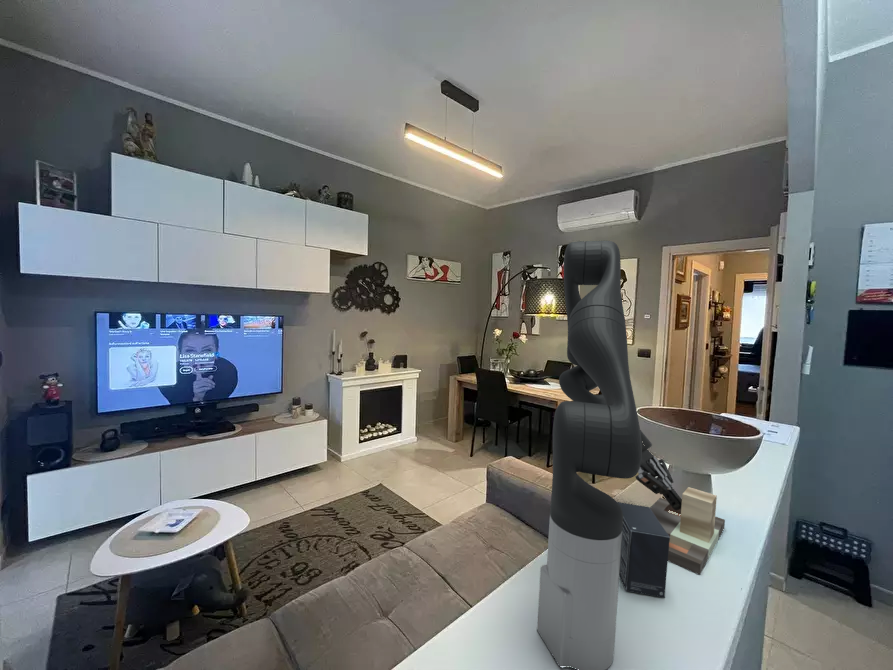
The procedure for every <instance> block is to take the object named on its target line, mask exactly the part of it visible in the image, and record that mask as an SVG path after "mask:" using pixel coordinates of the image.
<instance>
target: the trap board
mask: <svg viewBox="0 0 893 670" xmlns="http://www.w3.org/2000/svg"><path fill="white" fill-rule="evenodd" d="M649 508H650V509H651V511H652V512H653V514H654V515H655V517H656V518H657V520H658V521H659V522H660V524H661V525H662V527H663V528H664V529H665V531H666V532H667V534H668V535H669V536H670V534H671V533H672V531H673V530H674V529H675V528H676V526H677V525H678V524H679V523H680V520H681V515H680V516H679V514H681V509H679V510H677V511H676V510H674V509H673V508H672V506H671V505H670V504H669V502H668V501H667V500H666V498H662V497H659V498H658V499H657V500H656V501H655V502H654V503H653V504H652V505H651V506H650V507H649ZM669 510H670V511H673V512H676V513H678V515H675V514H672V513H669V512H668V511H669ZM725 523H726V519H724V518H721V517H718V516H715V526H714V529H716V530H719V537H721V536H720V535H722V534H723V532H724V530H725V525H726V524H725ZM723 529H724V530H723ZM722 531H723V532H722ZM721 533H722V534H721ZM718 539H719V540H720V538H718ZM708 560H709V558H708V549H706V548H703V547H701V546H698V545H696V544H693V545H692V546H691V548H690V549H689V550H687V549H684V548H682V547H680V546H677V545H675V544H672V543H670V541H669V552H668V562H669V563H672V564H674V565H676V566H678V567H680V568H683V569H685V570H688V571H690V572H692V573H694V574H696V575H699V576H700V575H701V573H702V571H703V570H704V567H705V566H706V564H707V563H708Z"/></svg>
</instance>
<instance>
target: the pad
mask: <svg viewBox="0 0 893 670" xmlns="http://www.w3.org/2000/svg"><path fill="white" fill-rule="evenodd" d="M718 538H719V530H716V529H714V534H713V536H712V538H711V540H710V542H709V543H708V542H705V541H702V540H700V539H697V538H695V537H692V536H689V535H687V534H684V533H682V532H680V523H679V524H678V525H677V526H676V528H675V529H674V530H673V531H672V533H671V534H670V543H672V544H675V545H677V546H680V547H682V548H684V549H687V550H689V549H690V548H691V546H692V545H693V544H696V545H698V546H701V547H703V548H706V549H708V559H709V558H710V557H711V555H712V553H713V550H714V549H715V547H716V545H717V544H718V541H719V540H718ZM719 539H720V538H719Z"/></svg>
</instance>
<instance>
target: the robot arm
mask: <svg viewBox="0 0 893 670" xmlns="http://www.w3.org/2000/svg"><path fill="white" fill-rule="evenodd" d="M621 261H622V260H621V252H620V249H619V245H618V244H617V243H616V242H615V241H611V240H586V241H584V240H583V241H582V240H579V241H572V242H569V243H568V244H567V246H566V247H565V251H564V257H563V287H564V300H565V301H564V302H565V310H566V311H565V312H566V318H567V343H566V344H567V348H566V357H567V359H568V361H569V362H570V363H571V364H572V365H574V367H571V368H569V369H567V370H565V371H563V372H562V373H561V374H560V376H559V378H558V383H559V387H560V388H561V391H562V392H563V393H564V394H565V395H566V397H568V398H569V399H570V400H571V401H570V400H564V401H562V402H560V403H559V404H558V405H557V407H556V409H555V412H554V415H553V416H554V417H553V425H552V481H551V495H550V509H549V522H548V523H549V526H548V537H547V539H548V542H547V555H546V556H547V558H546V559H547V561H546V564H542V565H541V566H540V571H539V575H540V576H539V590H538V606H537V607H538V609H537V625H536V630H537V633H538V634H539V635H540V637H541V639H542V641H543V642H544V644H545V645H546V647H547V649H548V650H549V652H550V654H551V653H552V654H553V655H552V654H551V655H552V657H553V656H554V657H553V659H554V658H555V659H556V660H555V659H554V660H555V662H556V661H557V662H558V664H559V665H560V666H571V667H573V668H576V669H579V670H607V669H609V668H610V666H611V665H612V664H613V661H614V657H615V644H616V632H617V631H616V629H617V615H618V614H617V613H618V601H619V600H618V599H619V586H620V585H619V583H620V576H619V572H620V557H621V543H622V528H623V512H622V509H621V507H620V505H619V504H618V503H617V502H618V501H617V500H616V499H614V498H613V497H612V496H611V495H609V494H608V493H606V492H604V491H602V490H600V489H598V488H597V487H595V486H593V485H591V484H590V483H588V481H586V480H584V479H583V478H582V477H581V476H580V475H579V474H578V473H581V474H582V473H583V474H588V475H589V474H590V475H593V476H594V475H595V476H601V477H609V478H616V479H617V478H618V479H624V480H625V479H626V480H627V479H632V478H634V477H635V480H636V481H638V482H639V483H640V484H642V485H643V486H644V487H645V488H647V489H648V490H649V491H651V492H652V493H653V494H655V495H658V494H659V495H662V496H663V497H664V499H666V500H667V501H668V502H669V504H670V505H671V506H672V508H673V509H674V510H676V511H677V510H679V509H681V506H682V497H681V496H680V494H678V492H676V490H675V488H674V484H673V483H674V479H673V477H672V475H671V473H670V471H669V469H668V467H667V465H666V462H665V461H664V460H663V459H662V458H660V459H659V460H658V458H657V457H656V456H655V455H654V454H653V453H652V452H651V451H650V452H649V449H650V448H652V446H653V443H652V442H651V441H650V439H649V438H648V437H647V436H646V434H645V433H644V432H643V431H642V430H641V427H640V421H639V416H638V415H639V414H638V411H637V406H636V405H637V404H636V401H635V395H634V391H633V386H632V381H631V374H630V367H629V352H628V350H629V349H628V335H627V334H628V333H627V326H626V325H627V324H626V319H625V313H624V307H623V306H624V305H623V299H622V288H621V284H622V283H621V281H622V279H621V275H622V274H621V268H622V267H621V265H622V264H621V263H622V262H621ZM579 286H595V287H594V288H593V289H591V290H590V291H589V292H588V293H587V294H586V295H584V296H583V297H581V295H580V289H579ZM596 388H598V389H599V391H600V392H601V394H595V393H592V392H591V391H592V390H595V389H596ZM642 441H643V443H642ZM643 444H644V445H645V446H644V445H643ZM647 449H648V450H647ZM651 453H652V454H653V455H652V454H651ZM557 662H556V663H557ZM558 664H557V665H558ZM559 665H558V666H559Z"/></svg>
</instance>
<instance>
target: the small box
mask: <svg viewBox="0 0 893 670" xmlns="http://www.w3.org/2000/svg"><path fill="white" fill-rule="evenodd" d="M617 503H618V504H619V505H620V507H621V509H622V512H623V528H622V543H621V557H620V572H619V579H620V580H621V583H622V585H623V588H624V590H625V591H626V592H630V593H634V594H635V593H636V594H641V595H646V596H651V597H652V596H653V597H656V598H661V599H665V598H666V586H667V585H666V584H667V574H668V562H669V561H668V552H669V541H670V536H669V535H668V534H667V532H666V531H665V529H664V528H663V527H662V525H661V524H660V522H659V521H658V520H657V518H656V517H655V515H654V514H653V512H652V511H651V509H650V507H649V506H646V505H645V506H644V505H637V504H631V503H628V502H627V503H626V502H619V501H617Z"/></svg>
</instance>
